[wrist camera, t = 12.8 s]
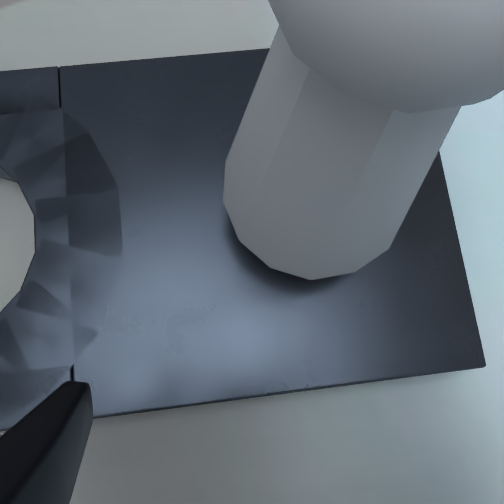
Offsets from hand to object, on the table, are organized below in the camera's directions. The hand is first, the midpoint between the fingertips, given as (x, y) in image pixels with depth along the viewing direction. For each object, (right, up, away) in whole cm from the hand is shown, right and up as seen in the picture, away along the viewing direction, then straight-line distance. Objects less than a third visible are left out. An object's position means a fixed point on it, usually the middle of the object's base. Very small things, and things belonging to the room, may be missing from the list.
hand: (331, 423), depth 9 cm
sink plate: (-6, +4, +11) cm, 13 cm away
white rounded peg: (0, +5, +9) cm, 10 cm away
